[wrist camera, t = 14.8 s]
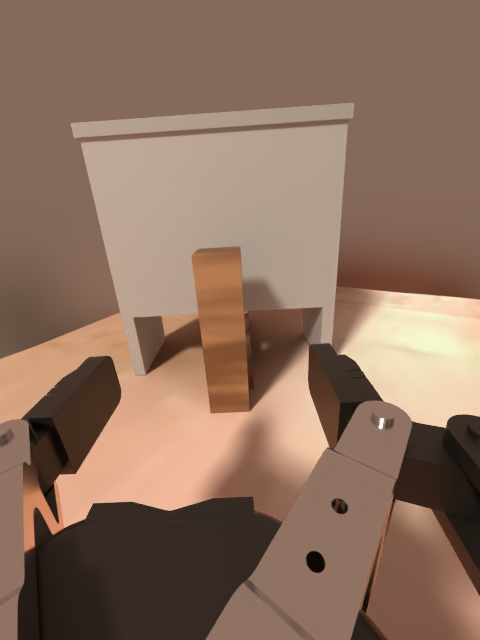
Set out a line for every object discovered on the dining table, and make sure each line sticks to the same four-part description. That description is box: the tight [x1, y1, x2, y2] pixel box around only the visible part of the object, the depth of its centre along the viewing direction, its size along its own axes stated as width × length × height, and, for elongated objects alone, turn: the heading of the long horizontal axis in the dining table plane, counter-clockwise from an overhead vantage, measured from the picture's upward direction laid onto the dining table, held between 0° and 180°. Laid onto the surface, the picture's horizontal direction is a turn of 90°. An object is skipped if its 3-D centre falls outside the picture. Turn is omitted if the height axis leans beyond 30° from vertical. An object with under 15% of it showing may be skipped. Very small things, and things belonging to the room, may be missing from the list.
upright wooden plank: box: [191, 246, 254, 413], centre depth 31 cm, size 18×4×14 cm, turn 0°
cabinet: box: [71, 103, 354, 375], centre depth 31 cm, size 10×23×24 cm, turn 90°
